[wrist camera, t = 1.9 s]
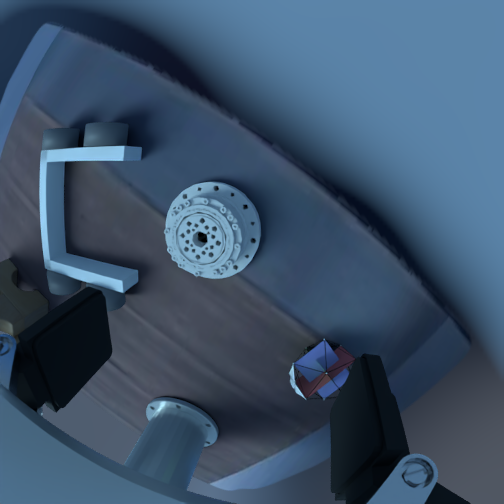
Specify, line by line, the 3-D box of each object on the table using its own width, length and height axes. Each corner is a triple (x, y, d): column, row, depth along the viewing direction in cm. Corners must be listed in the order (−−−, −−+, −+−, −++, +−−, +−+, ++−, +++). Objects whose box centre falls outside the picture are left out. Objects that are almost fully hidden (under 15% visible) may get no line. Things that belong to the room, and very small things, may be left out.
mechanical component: (224, 161, 27) (155, 217, 30) (210, 160, 23) (134, 225, 26) (280, 242, 29) (206, 289, 31) (277, 255, 24) (193, 307, 27)
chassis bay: (139, 299, 33) (118, 317, 29) (62, 276, 35) (40, 288, 30) (144, 125, 27) (118, 120, 22) (60, 132, 29) (34, 132, 24)
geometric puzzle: (351, 321, 27) (312, 383, 23) (377, 362, 28) (345, 420, 23) (305, 327, 33) (266, 376, 28) (332, 362, 34) (299, 411, 29)
